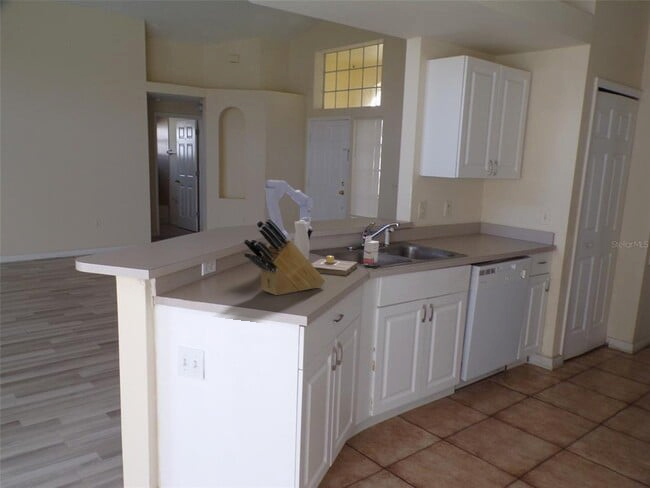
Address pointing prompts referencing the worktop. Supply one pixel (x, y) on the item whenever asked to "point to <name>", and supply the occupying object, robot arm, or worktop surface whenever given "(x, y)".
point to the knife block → (281, 263)
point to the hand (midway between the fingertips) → (304, 244)
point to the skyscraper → (302, 236)
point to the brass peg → (329, 259)
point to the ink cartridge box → (370, 250)
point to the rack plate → (334, 267)
